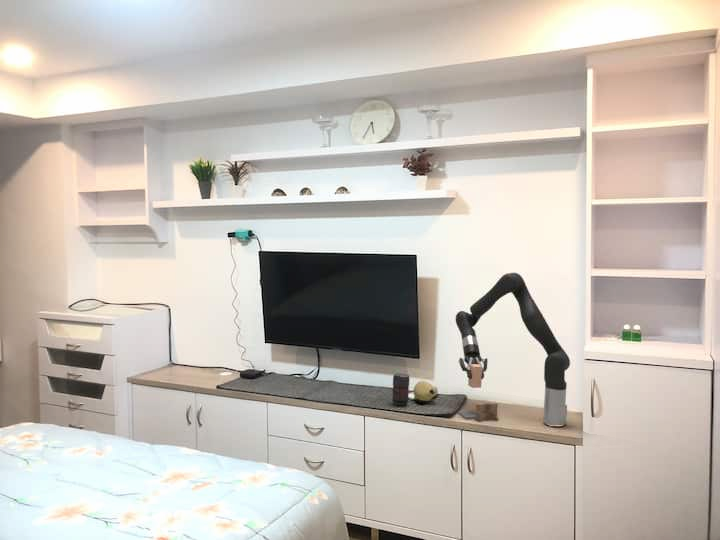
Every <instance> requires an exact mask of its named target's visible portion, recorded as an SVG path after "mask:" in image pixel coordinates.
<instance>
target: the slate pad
mask: <svg viewBox="0 0 720 540" xmlns="http://www.w3.org/2000/svg"><path fill="white" fill-rule="evenodd" d="M457 414H458V416H460V417H462V418H463V419H464V420H475V417H476V411H474V410H472V411H471V410H468V411H458V412H457Z"/></svg>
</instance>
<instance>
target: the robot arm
mask: <svg viewBox="0 0 720 540" xmlns="http://www.w3.org/2000/svg"><path fill="white" fill-rule="evenodd" d="M508 294H512V295H513V297H514V298H515V300H516V301H517V304H518V307H519V313H520V317H521V320H522V322H523V325H524V326H525V328H526V329H527V331H528V332H529V334H530V335H531V336H532V337H533V338H534V339H535V340H536V341H537V342H538V343H539V344H540V345H541V346H542V348H543V349H544V351H545V352H546V355H547V356H546V357H545V361H544V368H543V369H544V371H543V372H544V373H543V375H544V376H543V379H544V382H545V383H544V400H543V413H542V414H543V416H542V423H543V422H544V423H546V424H549V425H563V424H566V425H567V413H568V404H566V400H567V399H566V398H567V381H566V380H565V378H566V377H565V374H566V371H567V370H568V369H569V368H570V365H571V359H570V358H569V356H568V354H567V353H566V351H565V350H564V349H563V347H562V346H561V344H560V343H559V341H558V340H557V338H556V337H555V335H554V333H553V331H552V329H551V328H550V326H549V324H548V322H547V320H546V319H545V316H544V315H543V314H542V311H541V310H540V309H539V307H538V304H537V303H536V302H535V300H534V298H533V297H532V295H531V292H530V291H529V288H528V287H527V284H526V282H525V280H524V277H522V275H521V274H519V273H517V272H510V273H509V272H508V273H504V274H503V275H502V276H501V277H500V278H499V279H498V281H496V283H495V284H494V285H493V286H492V288H490V289H489V290H488V291H487V292H486V293H485V294H484V295H482V297H480V298H479V299H478V300H477V301H475V302H474V303H473V304H472V305H471V306H470V308H469V312H470V313H469V312H467V311H464V310H460V311H458V312H457V313H456V315H455V324H456V326H457V329H458V331H459V333H460V335H461V342H462V343H461V344H462V350H463V355H464V357H463V358H462V357H460V358H459V359H458V363H459V366H460V368H461V370H462V371H463V372H466V375H467V376H466V377H467V378H468V380H469V379H471V377H472V376H471V371H470V365H471V364H478V365H480V366H482V380H483V379H484V378H485V372H486V371H487V370H488V358H482V356H481V353H480V347H479V342H478V339H477V335H476V330H475V329H474V328H473V327H475V326H476V325H477V323H478V322H479V321H480V320H481V317H483V316H484V315H485V314H486V313H488V312H489V311H490V309H492V308H493V307H494V306H495V304H496V303H497V302H498V301H499V300H500V299H502V297H504V296H506V295H508ZM466 364H467V366H466ZM482 364H483V365H482Z"/></svg>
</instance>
